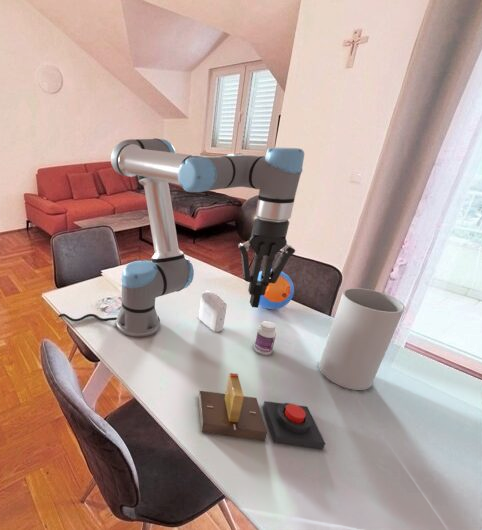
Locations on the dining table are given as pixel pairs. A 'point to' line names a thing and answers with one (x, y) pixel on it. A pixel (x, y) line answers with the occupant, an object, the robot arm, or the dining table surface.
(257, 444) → the dining table surface
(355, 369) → the cylinder vase
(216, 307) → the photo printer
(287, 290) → the treat dispenser ball
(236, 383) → the lock handle
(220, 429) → the panel
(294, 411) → the button
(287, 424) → the button box
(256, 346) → the pill bottle
